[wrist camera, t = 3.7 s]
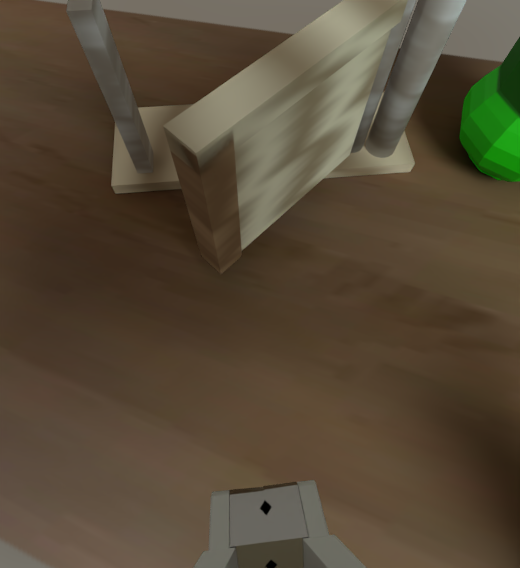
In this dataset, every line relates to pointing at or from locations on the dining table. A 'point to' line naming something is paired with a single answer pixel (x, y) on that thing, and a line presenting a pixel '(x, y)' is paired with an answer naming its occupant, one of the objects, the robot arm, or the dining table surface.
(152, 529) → the dining table surface
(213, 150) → the gate
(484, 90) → the plastic bottle
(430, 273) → the dining table surface
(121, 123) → the wooden stand
